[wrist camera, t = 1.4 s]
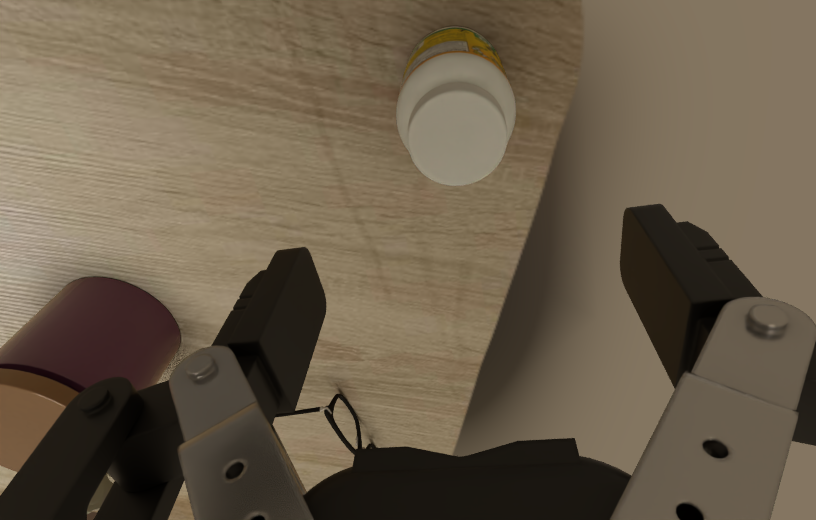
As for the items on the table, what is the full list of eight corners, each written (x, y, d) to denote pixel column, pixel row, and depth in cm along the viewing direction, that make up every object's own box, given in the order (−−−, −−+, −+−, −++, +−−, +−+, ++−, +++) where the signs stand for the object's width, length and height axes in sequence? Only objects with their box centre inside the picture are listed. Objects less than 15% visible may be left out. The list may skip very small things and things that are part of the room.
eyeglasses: (397, 475, 50) (394, 514, 47) (265, 491, 54) (254, 528, 51) (338, 372, 41) (328, 410, 38) (185, 399, 45) (164, 436, 42)
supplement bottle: (393, 41, 26) (371, 91, 18) (491, 11, 25) (513, 51, 17) (420, 134, 29) (410, 212, 21) (509, 111, 28) (534, 185, 20)
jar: (26, 281, 38) (-102, 389, 29) (145, 266, 36) (48, 376, 27) (99, 372, 44) (11, 485, 35) (205, 362, 42) (140, 479, 33)
